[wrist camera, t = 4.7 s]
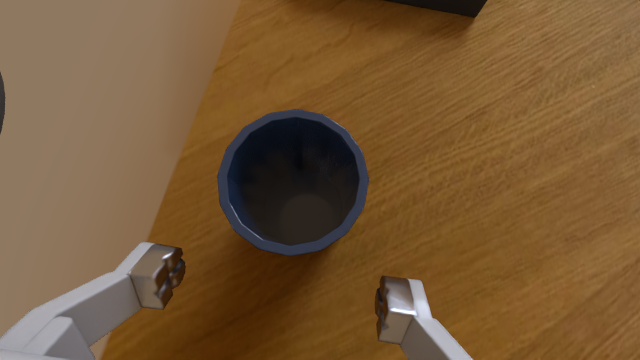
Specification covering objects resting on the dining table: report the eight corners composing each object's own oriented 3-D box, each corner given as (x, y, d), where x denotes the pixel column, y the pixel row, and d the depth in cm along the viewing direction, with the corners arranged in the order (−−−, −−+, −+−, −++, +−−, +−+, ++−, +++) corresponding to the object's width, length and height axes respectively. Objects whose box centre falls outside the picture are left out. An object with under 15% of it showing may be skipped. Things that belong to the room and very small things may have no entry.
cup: (250, 242, 20) (197, 235, 11) (273, 160, 21) (242, 97, 12) (336, 262, 19) (352, 270, 11) (353, 178, 21) (379, 125, 12)
